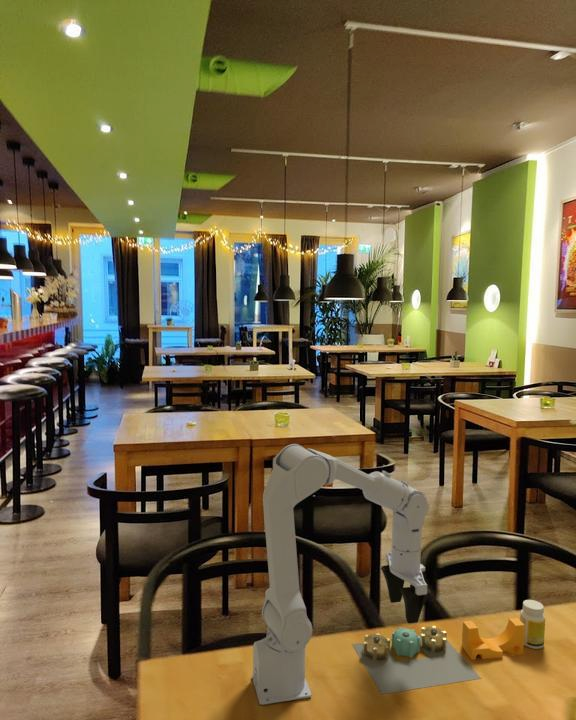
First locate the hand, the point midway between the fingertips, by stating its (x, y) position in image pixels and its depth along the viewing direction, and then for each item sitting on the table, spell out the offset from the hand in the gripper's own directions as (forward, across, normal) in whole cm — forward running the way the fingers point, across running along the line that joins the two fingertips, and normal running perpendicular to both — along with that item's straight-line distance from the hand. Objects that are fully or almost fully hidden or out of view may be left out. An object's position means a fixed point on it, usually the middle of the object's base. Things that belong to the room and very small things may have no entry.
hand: (403, 611), depth 108 cm
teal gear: (+9, 0, -1) cm, 9 cm away
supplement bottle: (+9, -2, -29) cm, 30 cm away
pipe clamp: (+9, -4, -18) cm, 21 cm away
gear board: (+9, -4, -1) cm, 10 cm away
